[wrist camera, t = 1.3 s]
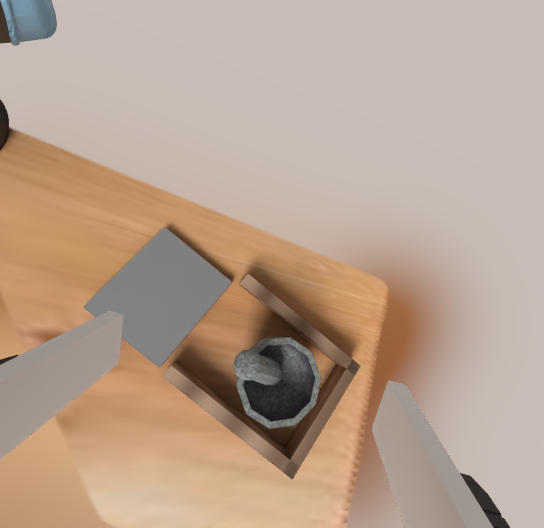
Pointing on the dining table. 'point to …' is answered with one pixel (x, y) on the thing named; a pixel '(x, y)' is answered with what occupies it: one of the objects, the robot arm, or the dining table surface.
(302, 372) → the mortar and pestle
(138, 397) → the dining table surface
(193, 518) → the dining table surface
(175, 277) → the slate mat
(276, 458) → the rectangular wooden frame
